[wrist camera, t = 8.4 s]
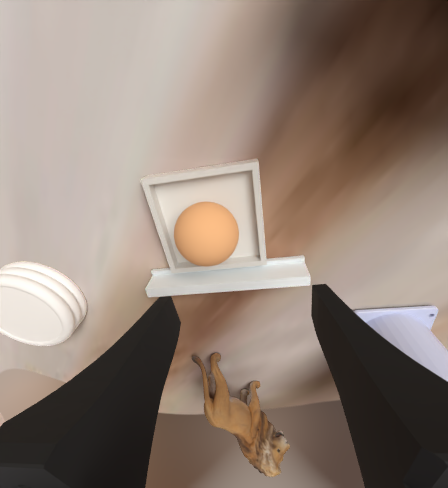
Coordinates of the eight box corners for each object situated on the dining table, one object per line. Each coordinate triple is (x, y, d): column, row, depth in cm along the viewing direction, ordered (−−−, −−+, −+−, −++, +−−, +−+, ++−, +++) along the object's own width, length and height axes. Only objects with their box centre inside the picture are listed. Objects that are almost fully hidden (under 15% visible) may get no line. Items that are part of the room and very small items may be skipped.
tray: (265, 257, 22) (266, 265, 20) (175, 265, 23) (171, 273, 22) (257, 158, 17) (258, 161, 16) (146, 175, 19) (140, 179, 17)
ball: (241, 242, 21) (243, 276, 16) (188, 249, 21) (176, 283, 17) (234, 189, 18) (234, 211, 14) (174, 197, 19) (156, 222, 15)
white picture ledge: (303, 272, 22) (309, 289, 20) (158, 284, 24) (149, 301, 22) (303, 255, 21) (310, 271, 19) (152, 269, 23) (143, 285, 21)
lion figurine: (286, 389, 33) (300, 476, 25) (261, 402, 35) (266, 486, 27) (204, 343, 29) (190, 429, 21) (181, 361, 31) (161, 445, 23)
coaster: (88, 273, 24) (67, 295, 21) (90, 331, 29) (72, 356, 26) (-9, 248, 24) (-45, 268, 21) (10, 312, 29) (-18, 336, 26)
